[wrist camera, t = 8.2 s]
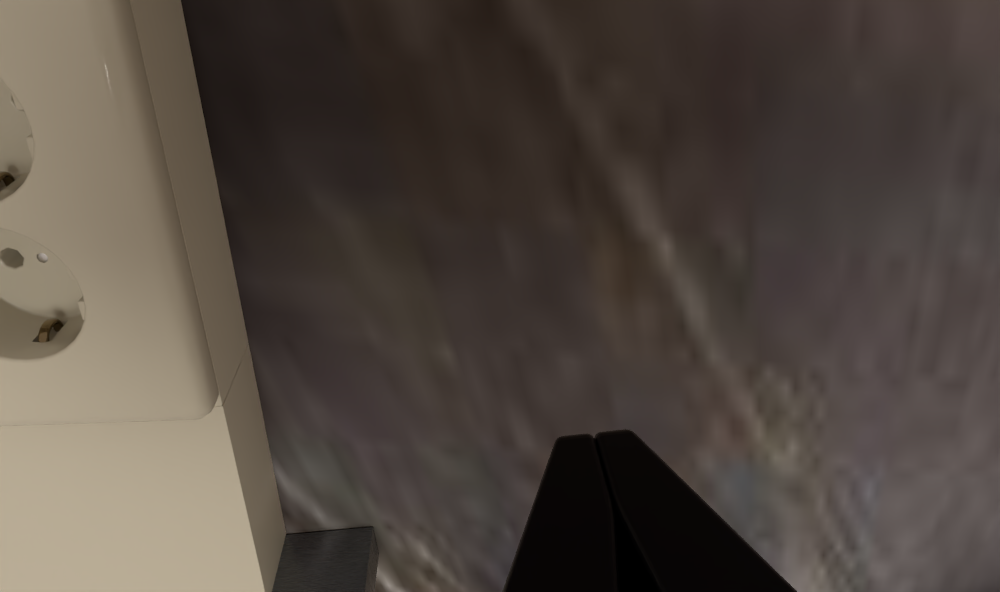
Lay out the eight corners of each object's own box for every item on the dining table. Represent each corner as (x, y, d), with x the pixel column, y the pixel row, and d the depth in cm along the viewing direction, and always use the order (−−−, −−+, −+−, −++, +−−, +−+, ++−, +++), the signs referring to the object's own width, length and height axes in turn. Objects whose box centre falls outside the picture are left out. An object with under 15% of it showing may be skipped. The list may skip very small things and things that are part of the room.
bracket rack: (378, 553, 26) (371, 619, 24) (48, 584, 26) (10, 652, 24) (181, -337, 14) (132, -367, 12) (-413, -282, 14) (-567, -303, 12)
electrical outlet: (-5, 646, 22) (-369, -83, 13) (60, 532, 25) (-190, -101, 16) (261, 634, 22) (87, -89, 13) (288, 524, 26) (166, -105, 17)
